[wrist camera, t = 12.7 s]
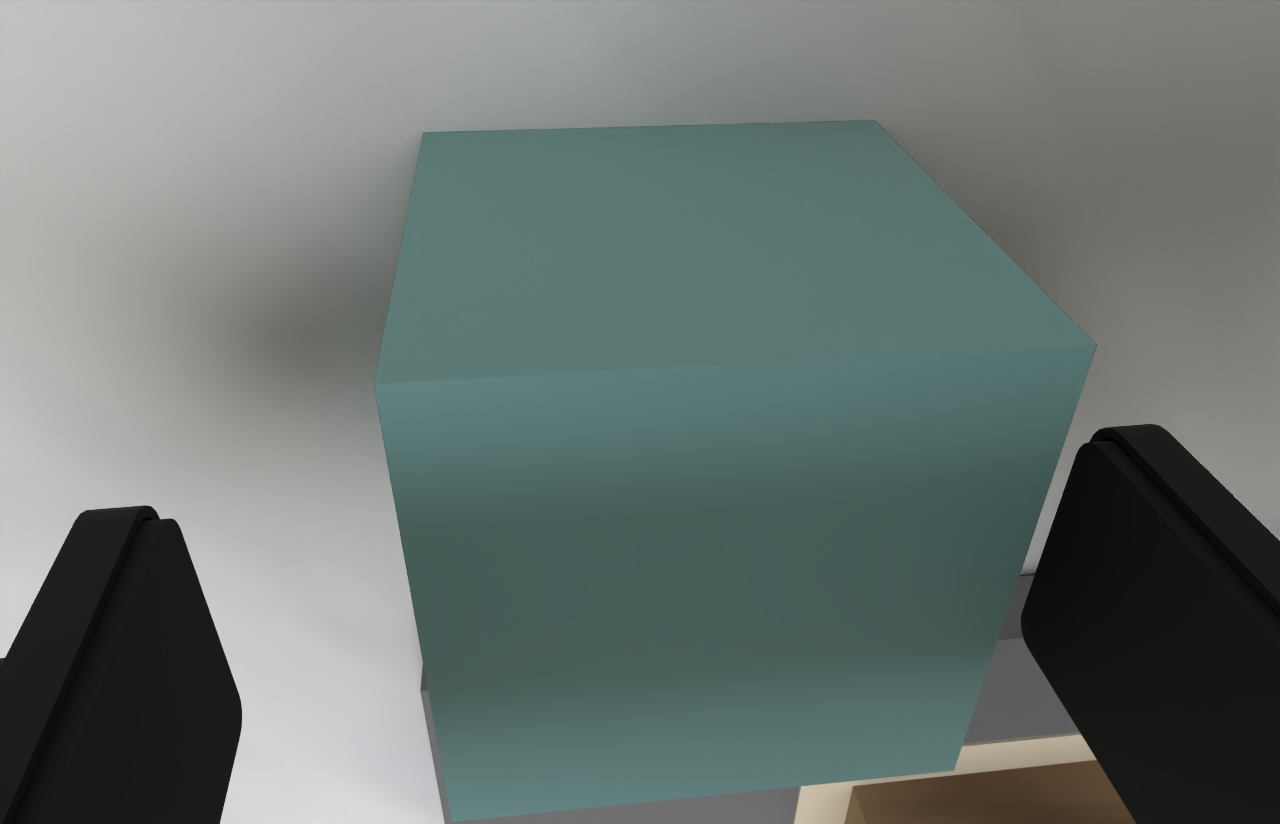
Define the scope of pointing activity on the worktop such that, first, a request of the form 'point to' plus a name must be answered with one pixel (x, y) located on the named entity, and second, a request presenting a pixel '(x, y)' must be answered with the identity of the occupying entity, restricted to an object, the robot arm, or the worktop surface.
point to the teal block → (708, 457)
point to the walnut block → (995, 798)
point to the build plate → (815, 815)
